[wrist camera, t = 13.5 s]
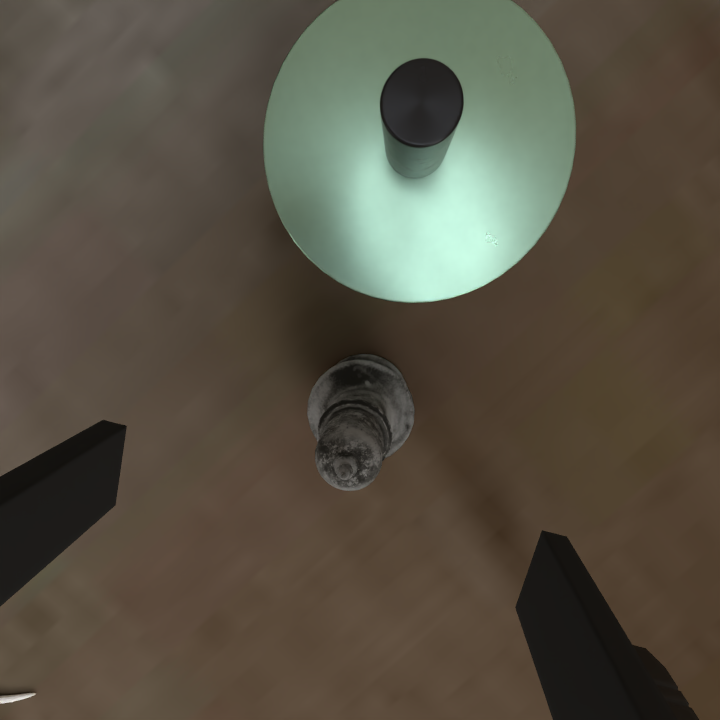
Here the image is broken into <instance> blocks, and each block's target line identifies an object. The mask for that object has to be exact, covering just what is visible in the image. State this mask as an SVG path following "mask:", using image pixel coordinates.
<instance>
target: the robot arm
mask: <svg viewBox="0 0 720 720" xmlns="http://www.w3.org/2000/svg"><path fill="white" fill-rule="evenodd" d="M126 427H127V426H125V425H121V424H117V423H113V422H109V421H105V420H102V421H100V422H98V423H97V424H95V425H93V426H91V427H89V428H87V429H86V430H84V431H82V432H80V433H78V434H77V435H75V436H73V437H71V438H69V439H68V440H66V441H64V442H62V443H60V444H59V445H57V446H55V447H53V448H51V449H49V450H48V451H46V452H44V453H42V454H40V455H39V456H37V457H35V458H33V459H31V460H30V461H28V462H26V463H24V464H22V465H21V466H19V467H17V468H15V469H13V470H11V471H10V472H8V473H6V474H4V475H2V476H1V477H0V606H1V605H2V604H4V603H5V602H6V601H7V600H8V599H9V598H10V597H12V596H13V595H14V594H15V593H16V592H17V591H18V590H20V589H21V588H22V587H23V586H24V585H25V584H26V583H27V582H29V581H30V580H31V579H32V578H33V577H34V576H35V575H37V574H38V573H39V572H40V571H41V570H42V569H43V568H45V567H46V566H47V565H48V564H49V563H50V562H51V561H53V560H54V559H55V558H56V557H57V556H58V555H59V554H60V553H62V552H63V551H64V550H65V549H66V548H67V547H68V546H70V545H71V544H72V543H73V542H74V541H75V540H76V539H78V538H79V537H80V536H81V535H82V534H83V533H84V532H86V531H87V530H88V529H89V528H90V527H91V526H92V525H93V524H95V523H96V522H97V521H98V520H99V519H100V518H101V517H103V516H104V515H105V514H106V513H107V512H108V511H109V510H111V509H112V508H113V507H114V506H115V505H116V497H117V490H118V483H119V476H120V469H121V462H122V455H123V448H124V441H125V434H126ZM515 608H516V611H517V614H518V617H519V620H520V623H521V626H522V629H523V632H524V635H525V637H526V640H527V643H528V646H529V649H530V652H531V655H532V658H533V661H534V664H535V667H536V670H537V673H538V676H539V679H540V682H541V685H542V688H543V691H544V694H545V697H546V700H547V703H548V706H549V709H550V712H551V715H552V718H553V720H699V719H698V717H697V716H696V714H695V713H694V711H693V710H692V708H690V707H689V706H688V705H689V703H688V702H687V700H686V699H685V697H684V696H683V694H682V693H681V691H678V686H677V685H676V683H675V682H674V680H673V679H672V677H671V676H670V674H669V673H668V671H667V670H666V668H665V667H664V666H663V665H662V664H661V663H660V662H659V661H658V660H657V659H656V658H655V657H654V656H653V655H652V654H651V653H650V652H649V651H648V650H647V649H646V648H642V647H638V646H634V645H632V644H631V642H630V640H629V639H628V637H627V635H626V634H625V632H624V630H623V629H622V627H621V625H620V624H619V622H618V620H617V619H616V617H615V616H614V614H613V612H612V611H611V609H610V607H609V606H608V604H607V602H606V601H605V599H604V597H603V596H602V594H601V592H600V591H599V589H598V587H597V586H596V584H595V582H594V581H593V579H592V577H591V576H590V574H589V573H588V571H587V569H586V568H585V566H584V564H583V563H582V561H581V559H580V558H579V556H578V554H577V553H576V551H575V549H574V548H573V546H572V544H571V543H570V541H569V539H568V538H567V537H566V536H562V535H558V534H554V533H550V532H546V531H542V532H541V535H540V538H539V541H538V544H537V546H536V549H535V552H534V555H533V558H532V561H531V564H530V567H529V570H528V573H527V575H526V578H525V581H524V584H523V587H522V590H521V593H520V596H519V599H518V601H517V604H516V607H515Z"/></svg>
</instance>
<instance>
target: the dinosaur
mask: <svg viewBox="0 0 720 720" xmlns="http://www.w3.org/2000/svg"><path fill="white" fill-rule="evenodd" d="M35 694H36V693H27V694H18V695H5V696H0V704H1V703H8V702H13V701H17V700H22V699H25V698H28V697H31V696H34V695H35Z"/></svg>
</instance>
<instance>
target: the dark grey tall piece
mask: <svg viewBox="0 0 720 720" xmlns="http://www.w3.org/2000/svg"><path fill="white" fill-rule="evenodd" d="M414 411H415V410H414V405H413V399H412V395H411V393H410V391H409V389H408V387H407V385H406V382H405V380H404V378H403V376H402V374H401V373H400V371H399V370H398V369H397V368H396V367H395V366H394V365H393V364H392V363H390V362H389V361H387V360H386V359H384V358H382V357H379V356H376V355H371V354H358V355H353V356H350V357H347V358H345V359H343V360H341V361H340V362H339V363H338V364H336V365H335V366H334V367H331V368H330V369H329V370H328V371H326V372H325V373H324V374H323V375H322V376H321V377H320V378H319V379H318V381H317V382H316V384H315V385H314V387H313V388H312V391H311V394H310V397H309V400H308V413H307V415H308V420H309V424H310V428H311V430H312V432H313V434H314V436H315V438H316V440H317V441H318V444H317V447H316V450H315V461H316V465H317V469H318V471H319V473H320V475H321V476H322V478H323V479H324V480H325V481H326V482H327V483H329V484H330V485H332V486H333V487H335V488H338V489H341V490H347V491H353V490H359V489H362V488H364V487H366V486H368V485H369V484H370V483H371V482H373V480H374V479H375V478H376V476H377V475H378V474H379V471H380V469H381V466H382V461H383V460H384V459H385V458H386V457H389V456H390V455H392V454H393V453H394V452H395V451H397V450H398V449H399V448H401V446H402V445H403V443H404V442H405V441H406V439H407V438H408V437H409V434H410V431H411V429H412V426H413V422H414Z"/></svg>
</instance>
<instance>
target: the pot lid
mask: <svg viewBox="0 0 720 720" xmlns="http://www.w3.org/2000/svg"><path fill="white" fill-rule="evenodd" d="M575 147H576V119H575V109H574V101H573V97H572V93H571V88H570V84H569V80H568V78H567V75H566V73H565V70H564V67H563V65H562V62H561V60H560V58H559V56H558V54H557V53H556V51H555V49H554V47H553V45H552V43H551V42H550V40H549V39H548V37H547V36H546V35H545V33H544V32H543V31H542V29H541V28H540V27H539V25H538V24H537V23H536V22H535V21H534V20H533V19H532V18H531V17H530V16H529V15H528V14H527V13H526V12H525V11H524V10H523V9H522V8H521V7H520V6H518V5H517V4H516V3H514V2H513V1H512V0H337V1H336V2H335V3H334V4H332V5H331V6H330V7H328V8H327V9H326V10H324V11H323V12H322V13H321V14H320V15H319V16H318V17H317V18H316V19H315V20H314V21H313V22H312V23H311V24H310V25H309V26H308V27H307V28H306V29H305V31H304V32H303V33H302V35H301V36H300V37H299V38H298V40H297V41H296V42H295V44H294V45H293V47H292V48H291V50H290V52H289V53H288V55H287V57H286V58H285V60H284V62H283V64H282V66H281V68H280V70H279V73H278V75H277V77H276V80H275V82H274V84H273V88H272V91H271V95H270V98H269V101H268V105H267V111H266V117H265V123H264V137H263V153H264V165H265V172H266V177H267V182H268V187H269V190H270V193H271V196H272V199H273V202H274V205H275V208H276V210H277V212H278V214H279V216H280V218H281V221H282V223H283V225H284V227H285V228H286V230H287V231H288V233H289V234H290V236H291V237H292V239H293V241H294V242H295V243H296V245H297V246H298V247H299V248H300V249H301V250H302V252H303V253H304V254H305V255H306V256H307V258H308V259H310V260H311V261H312V262H313V263H314V264H315V265H316V266H317V267H318V268H319V269H320V270H322V271H323V272H324V273H326V274H327V275H329V276H330V277H331V278H333V279H334V280H336V281H337V282H339V283H341V284H343V285H345V286H347V287H348V288H350V289H352V290H354V291H357V292H360V293H362V294H365V295H368V296H371V297H374V298H378V299H383V300H387V301H392V302H404V303H424V302H434V301H440V300H445V299H450V298H453V297H457V296H460V295H463V294H466V293H469V292H471V291H473V290H476V289H478V288H480V287H482V286H484V285H486V284H488V283H490V282H491V281H493V280H494V279H496V278H498V277H499V276H501V275H503V274H504V273H505V272H506V271H508V270H509V269H510V268H511V267H513V266H514V265H515V264H516V263H518V262H519V261H520V260H521V259H522V258H523V257H524V256H525V255H526V254H527V253H528V252H529V251H530V250H531V249H532V248H533V246H534V245H535V244H536V243H537V241H538V240H539V239H540V237H541V236H542V235H543V233H544V232H545V231H546V229H547V228H548V226H549V224H550V223H551V221H552V219H553V217H554V216H555V214H556V212H557V210H558V208H559V206H560V204H561V201H562V199H563V196H564V194H565V192H566V189H567V185H568V182H569V178H570V175H571V171H572V167H573V160H574V154H575Z"/></svg>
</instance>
